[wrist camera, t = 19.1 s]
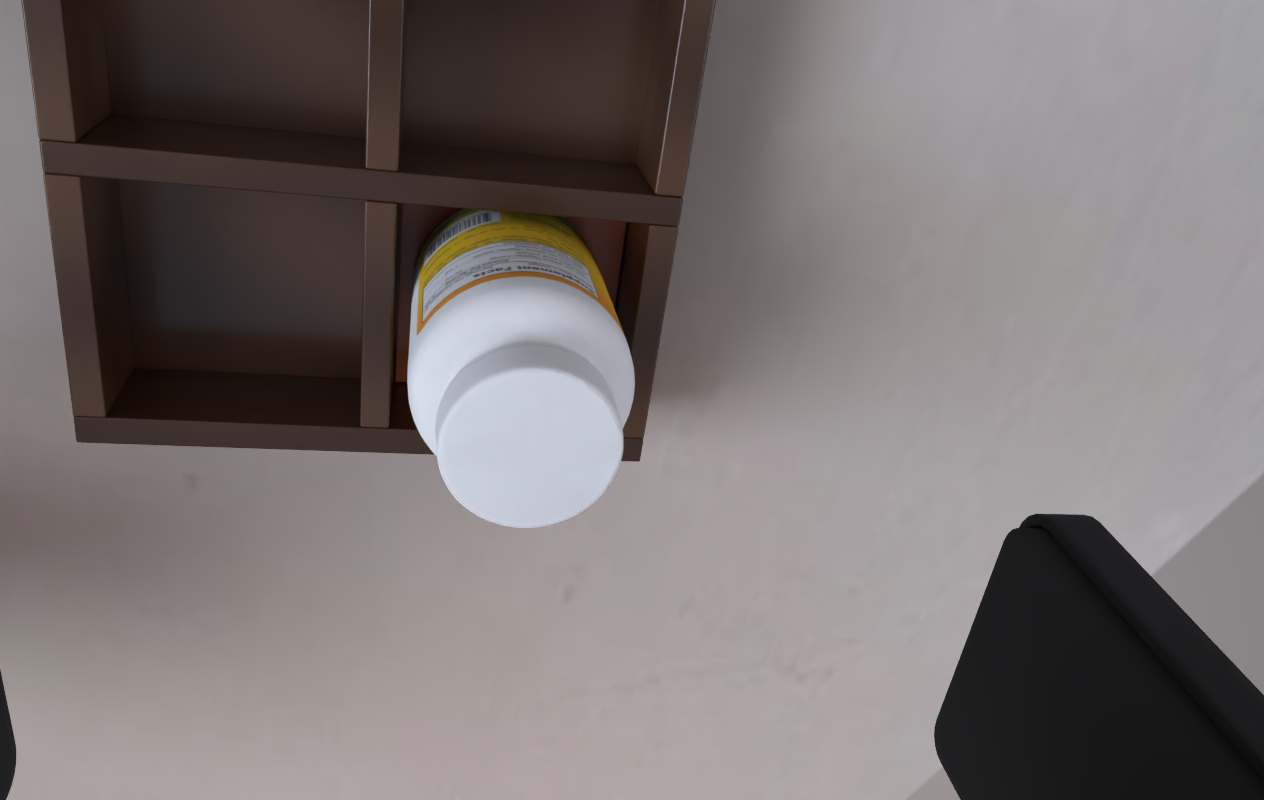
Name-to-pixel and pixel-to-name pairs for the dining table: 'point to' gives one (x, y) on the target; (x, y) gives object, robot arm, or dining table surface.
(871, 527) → the dining table surface
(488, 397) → the supplement bottle
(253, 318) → the wooden compartment tray
